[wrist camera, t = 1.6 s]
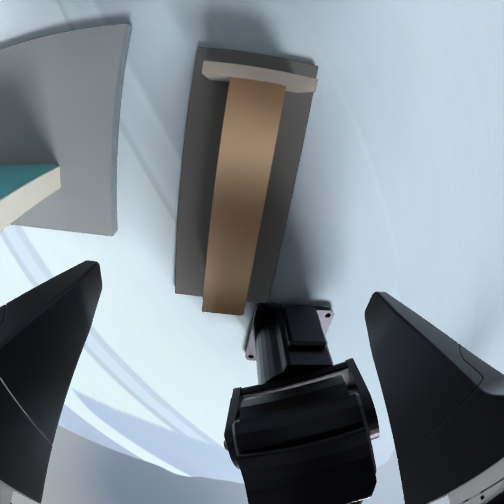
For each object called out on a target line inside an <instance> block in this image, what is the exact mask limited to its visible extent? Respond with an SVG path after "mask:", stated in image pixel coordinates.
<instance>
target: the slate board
mask: <svg viewBox="0 0 504 504" xmlns="http://www.w3.org/2000/svg"><path fill="white" fill-rule="evenodd" d="M131 30H132V26H130V25H129V24H127V23H126V24H115V25H106V26H98V27H90V28H84V29H78V30H72V31H67V32H62V33H57V34H53V35H48V36H44V37H40V38H36V39H33V40H29V41H26V42H22V43H19V44H16V45H12V46H9V47H6V48H3V49H1V50H0V165H38V164H51V165H55V166H60V184H61V188H59V189H58V190H56V191H55V192H53V193H52V194H50V195H49V196H48V197H46V198H45V199H43V200H42V201H40V202H39V203H38V204H36V205H35V206H33V207H32V208H31V209H29V210H28V211H27V212H25V213H24V214H23V215H21V216H20V217H19V218H17V219H16V220H15V221H13V222H12V223H11V225H20V226H28V227H37V228H46V229H54V230H63V231H71V232H80V233H89V234H97V235H106V236H113V235H114V234H115V232H116V231H117V197H116V179H117V145H118V128H119V115H120V104H121V95H122V86H123V78H124V71H125V64H126V57H127V51H128V46H129V40H130V35H131Z"/></svg>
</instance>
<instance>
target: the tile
mask: <svg viewBox="0 0 504 504" xmlns="http://www.w3.org/2000/svg"><path fill="white" fill-rule="evenodd" d="M59 188H61V184H60V166H55V165H51V164H38V165H0V232H1V231H2V230H3V229H5V228H6V227H7V226H8V225H10V224H11V223H12V222H13V221H15V220H16V219H17V218H19V217H20V216H21V215H23V214H24V213H25V212H27V211H28V210H29V209H31V208H32V207H33V206H35V205H36V204H38V203H39V202H40V201H42V200H43V199H45V198H46V197H48V196H49V195H50V194H52V193H53V192H55V191H56V190H58V189H59Z"/></svg>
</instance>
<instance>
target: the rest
mask: <svg viewBox="0 0 504 504" xmlns="http://www.w3.org/2000/svg"><path fill="white" fill-rule="evenodd" d="M204 61H212V62H222V63H231V64H239V65H247V66H253V67H260V68H266V69H271V70H277V71H282V72H287V73H292V74H297V75H301V76H306V77H310V78H314V79H316V75H317V70H318V66H315V65H311V64H307V63H302V62H298V61H294V60H289V59H284V58H279V57H273V56H268V55H262V54H256V53H249V52H242V51H234V50H225V49H215V48H203V47H198V51H197V57H196V63H195V69H194V75H193V81H192V88H191V95H190V102H189V109H188V117H187V125H186V133H185V142H184V151H183V161H182V172H181V184H180V196H179V211H178V227H177V248H176V279H175V293H177V294H185V295H193V296H202V297H203V293H204V281H205V270H206V260H207V249H208V240H209V230H210V221H211V212H212V203H213V195H214V187H215V179H216V171H217V164H218V156H219V149H220V142H221V135H222V128H223V121H224V115H225V108H226V102H227V96H228V89H229V83H230V82H225V81H216V80H210V79H208V78H207V77H206V76H204V75H203V74H202V68H203V62H204ZM312 96H313V92H303V93H293V92H288V91H285V96H284V101H283V107H282V112H281V117H280V123H279V128H278V133H277V139H276V144H275V150H274V155H273V160H272V166H271V171H270V176H269V182H268V187H267V192H266V198H265V203H264V208H263V214H262V219H261V224H260V229H259V235H258V240H257V245H256V251H255V256H254V261H253V266H252V272H251V277H250V282H249V287H248V293H247V298H246V301H250V302H261V303H267V302H268V297H269V293H270V289H271V285H272V281H273V277H274V273H275V268H276V264H277V260H278V256H279V251H280V247H281V243H282V238H283V234H284V229H285V225H286V221H287V216H288V212H289V207H290V203H291V198H292V194H293V189H294V184H295V180H296V175H297V170H298V166H299V161H300V156H301V151H302V147H303V142H304V137H305V132H306V127H307V122H308V117H309V112H310V107H311V102H312Z"/></svg>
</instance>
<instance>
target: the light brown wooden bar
mask: <svg viewBox="0 0 504 504" xmlns="http://www.w3.org/2000/svg"><path fill="white" fill-rule="evenodd" d="M202 74H203V75H204V76H206V77H207V78H208V79H210V80H216V81H225V82H230V83H229V89H228V96H227V102H226V108H225V115H224V121H223V128H222V135H221V142H220V149H219V156H218V164H217V171H216V179H215V187H214V195H213V203H212V212H211V221H210V230H209V240H208V249H207V260H206V270H205V281H204V293H203V305H202V312H211V313H221V314H231V315H242V316H243V314H244V308H245V303H246V298H247V293H248V287H249V282H250V277H251V272H252V266H253V261H254V256H255V251H256V245H257V240H258V235H259V229H260V224H261V219H262V214H263V208H264V203H265V198H266V192H267V187H268V182H269V176H270V171H271V166H272V160H273V155H274V150H275V144H276V139H277V133H278V128H279V123H280V117H281V112H282V107H283V101H284V96H285V91H288V92H293V93H303V92H315V90H316V85H317V80H318V79H314V78H310V77H306V76H301V75H297V74H292V73H287V72H282V71H277V70H271V69H266V68H260V67H253V66H247V65H239V64H231V63H222V62H212V61H204V62H203V68H202Z"/></svg>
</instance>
